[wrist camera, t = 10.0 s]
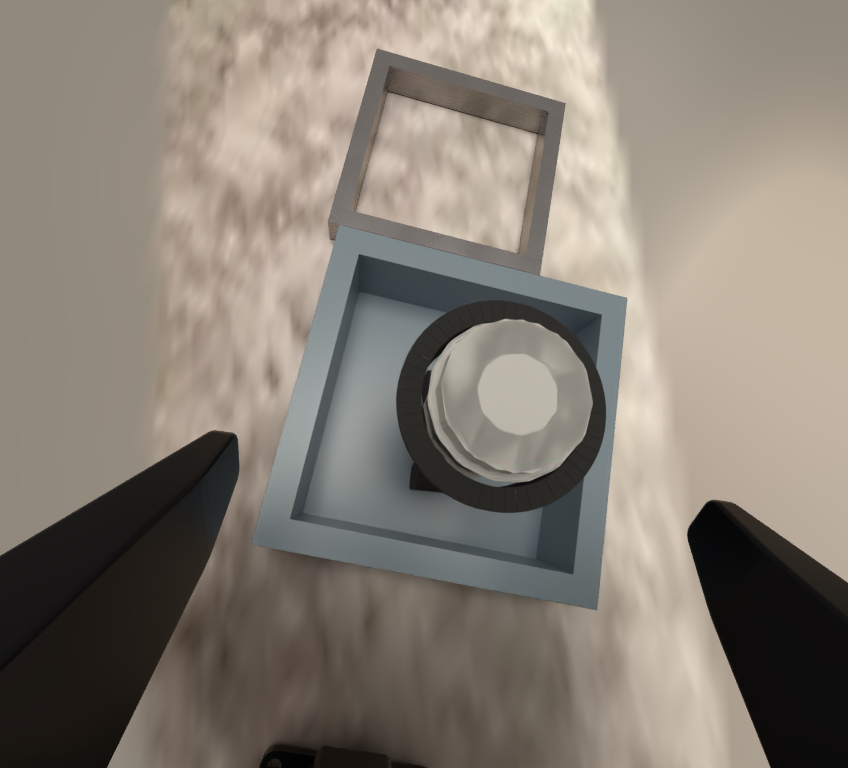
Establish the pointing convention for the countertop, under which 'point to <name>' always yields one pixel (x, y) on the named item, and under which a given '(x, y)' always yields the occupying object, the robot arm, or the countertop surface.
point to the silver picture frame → (469, 99)
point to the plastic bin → (383, 445)
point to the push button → (500, 407)
